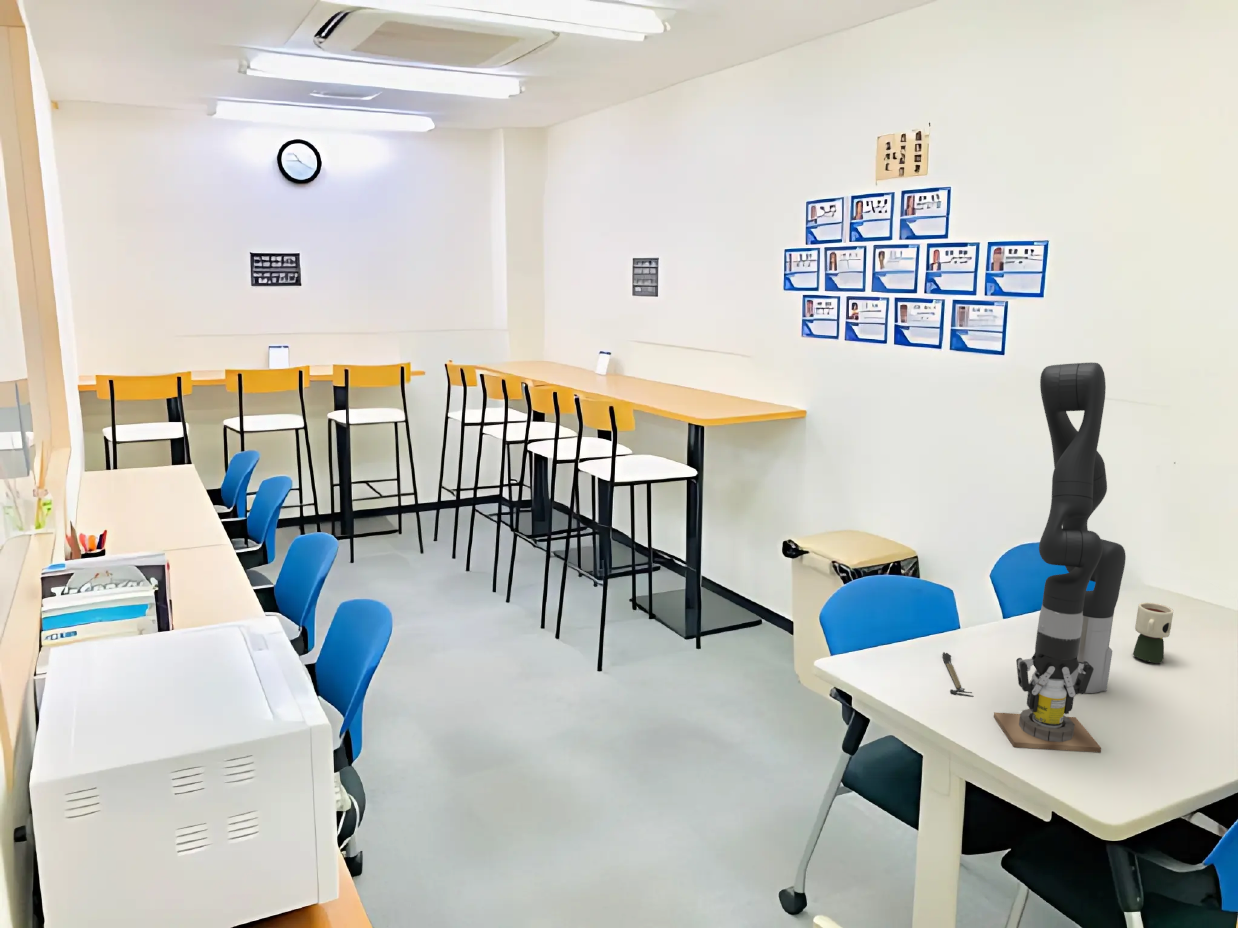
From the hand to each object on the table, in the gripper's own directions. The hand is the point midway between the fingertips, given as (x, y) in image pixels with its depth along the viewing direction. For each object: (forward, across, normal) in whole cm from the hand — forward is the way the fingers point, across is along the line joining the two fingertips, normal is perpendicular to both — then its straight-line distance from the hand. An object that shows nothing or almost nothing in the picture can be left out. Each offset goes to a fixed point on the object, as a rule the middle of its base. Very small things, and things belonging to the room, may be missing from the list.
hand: (1048, 710), depth 179 cm
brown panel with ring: (+5, 0, 0) cm, 5 cm away
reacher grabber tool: (+6, +10, -25) cm, 28 cm away
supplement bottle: (+3, 0, 0) cm, 3 cm away
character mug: (+5, -38, -40) cm, 55 cm away
